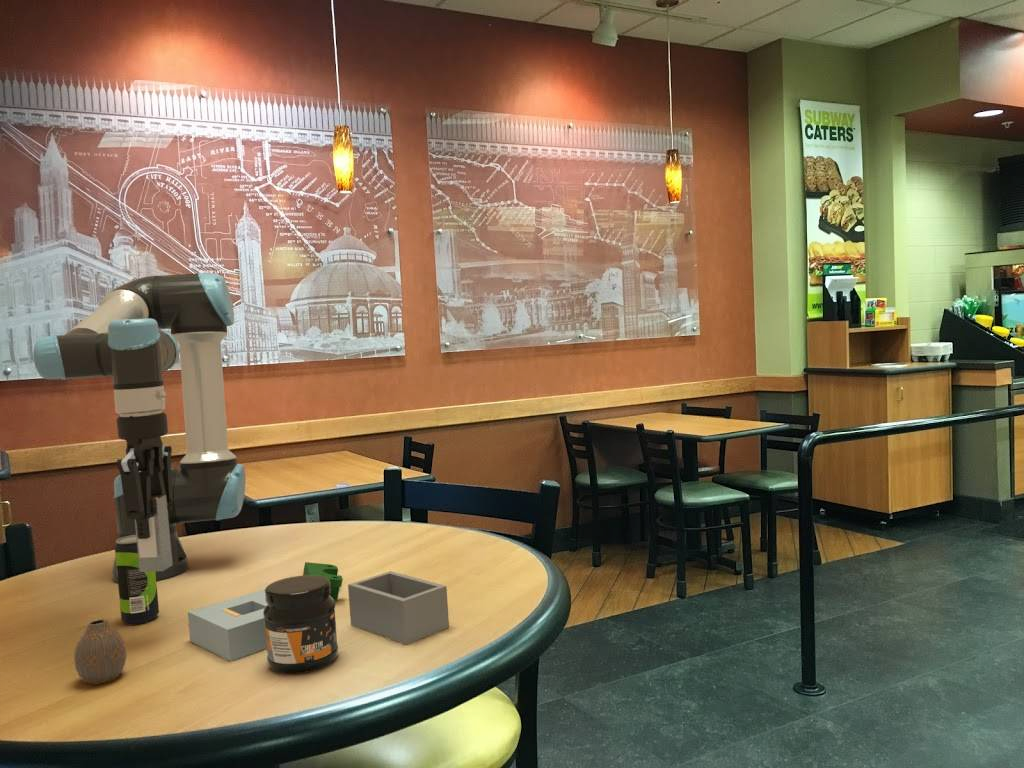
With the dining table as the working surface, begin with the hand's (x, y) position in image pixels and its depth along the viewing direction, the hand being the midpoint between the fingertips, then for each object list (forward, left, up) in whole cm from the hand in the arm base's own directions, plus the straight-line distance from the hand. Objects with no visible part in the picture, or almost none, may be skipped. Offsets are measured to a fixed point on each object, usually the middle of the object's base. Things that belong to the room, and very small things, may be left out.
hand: (154, 552), depth 135 cm
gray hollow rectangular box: (+28, +28, -15) cm, 42 cm away
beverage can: (-14, +2, -15) cm, 21 cm away
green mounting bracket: (+4, +29, -15) cm, 33 cm away
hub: (+11, +10, -15) cm, 21 cm away
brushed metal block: (0, 0, -3) cm, 3 cm away
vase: (+8, -12, -15) cm, 21 cm away
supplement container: (+28, +10, -15) cm, 33 cm away
